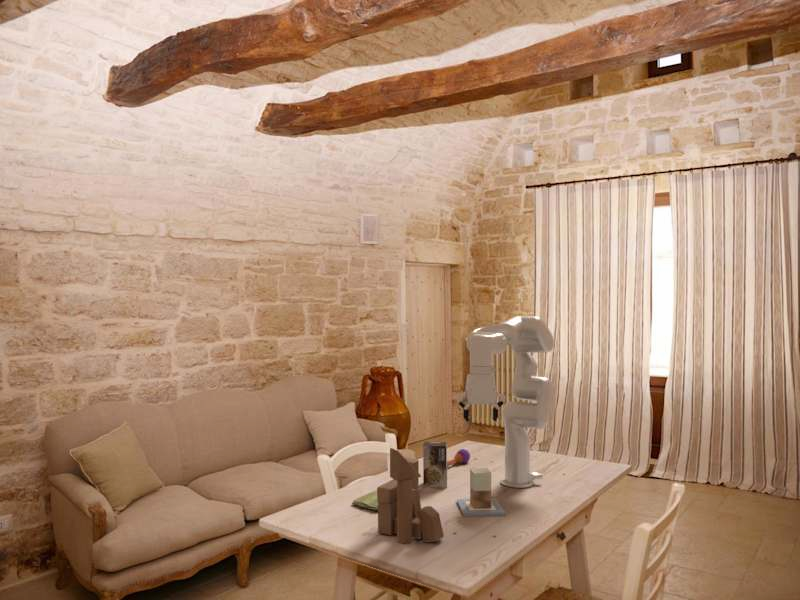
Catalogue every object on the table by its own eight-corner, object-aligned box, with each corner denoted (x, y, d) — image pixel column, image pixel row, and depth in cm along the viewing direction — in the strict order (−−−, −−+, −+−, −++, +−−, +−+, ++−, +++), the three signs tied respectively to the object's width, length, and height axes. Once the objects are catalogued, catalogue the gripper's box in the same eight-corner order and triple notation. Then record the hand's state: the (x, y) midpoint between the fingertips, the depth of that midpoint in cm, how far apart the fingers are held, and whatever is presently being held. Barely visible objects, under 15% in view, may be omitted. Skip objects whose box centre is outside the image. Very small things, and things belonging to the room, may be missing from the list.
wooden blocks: (427, 553, 181) (427, 455, 180) (368, 539, 191) (368, 446, 190) (462, 526, 202) (462, 438, 202) (407, 515, 212) (407, 431, 211)
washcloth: (350, 506, 221) (350, 497, 221) (382, 493, 235) (382, 485, 235) (378, 514, 213) (378, 505, 213) (410, 501, 227) (410, 492, 227)
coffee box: (447, 483, 247) (447, 441, 247) (446, 488, 240) (447, 445, 240) (423, 482, 248) (423, 441, 248) (422, 487, 241) (422, 445, 241)
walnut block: (487, 502, 221) (487, 485, 221) (491, 508, 215) (491, 490, 215) (470, 502, 221) (470, 485, 221) (473, 508, 215) (473, 491, 215)
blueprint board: (495, 501, 226) (495, 498, 226) (505, 515, 212) (505, 512, 212) (456, 502, 225) (456, 499, 225) (463, 516, 211) (463, 513, 211)
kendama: (432, 460, 266) (460, 447, 281) (435, 474, 265) (462, 461, 281) (444, 460, 262) (471, 447, 277) (447, 474, 261) (473, 460, 277)
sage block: (487, 485, 221) (487, 467, 221) (491, 490, 215) (491, 472, 215) (470, 485, 221) (470, 468, 221) (473, 491, 215) (473, 473, 215)
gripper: (503, 369, 222) (503, 418, 222) (454, 369, 221) (453, 418, 221) (508, 371, 214) (508, 422, 215) (457, 372, 213) (457, 423, 213)
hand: (480, 420), depth 218 cm, fingers open, 9 cm apart
